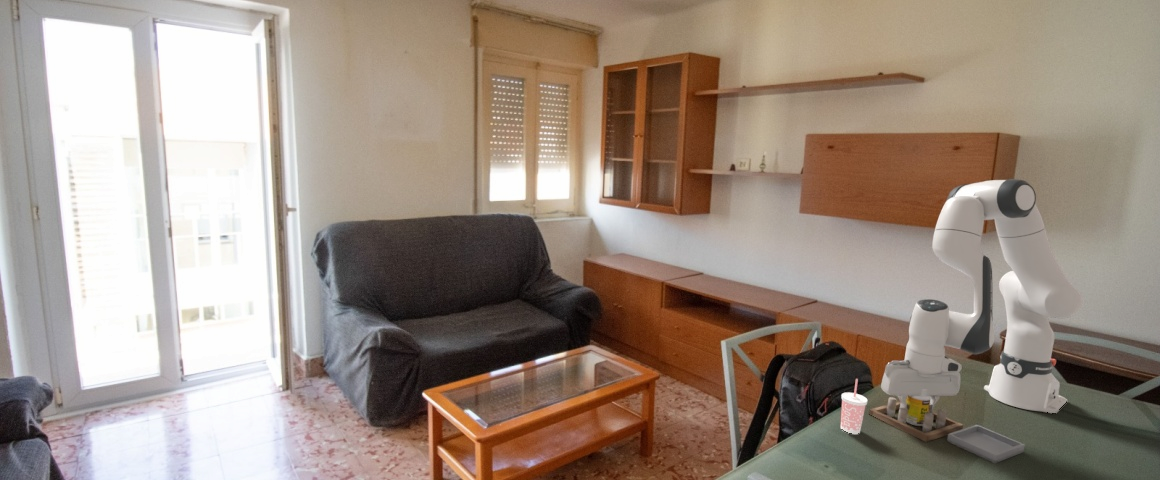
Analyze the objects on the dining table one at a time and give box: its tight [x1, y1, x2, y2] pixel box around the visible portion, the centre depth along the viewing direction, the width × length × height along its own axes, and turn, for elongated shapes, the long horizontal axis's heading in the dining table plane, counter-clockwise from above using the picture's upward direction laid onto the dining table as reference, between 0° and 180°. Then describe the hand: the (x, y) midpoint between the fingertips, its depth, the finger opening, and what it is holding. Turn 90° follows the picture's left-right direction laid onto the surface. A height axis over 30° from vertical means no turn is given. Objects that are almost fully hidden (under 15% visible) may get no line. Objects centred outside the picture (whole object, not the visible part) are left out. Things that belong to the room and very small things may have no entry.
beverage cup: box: [840, 378, 869, 435], centre depth 146 cm, size 6×6×14 cm
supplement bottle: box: [906, 389, 931, 427], centre depth 152 cm, size 6×6×10 cm
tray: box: [946, 424, 1026, 464], centre depth 141 cm, size 13×11×2 cm
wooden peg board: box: [868, 397, 964, 442], centre depth 152 cm, size 16×16×5 cm
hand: (916, 409), depth 152 cm, fingers closed on supplement bottle, 5 cm apart
